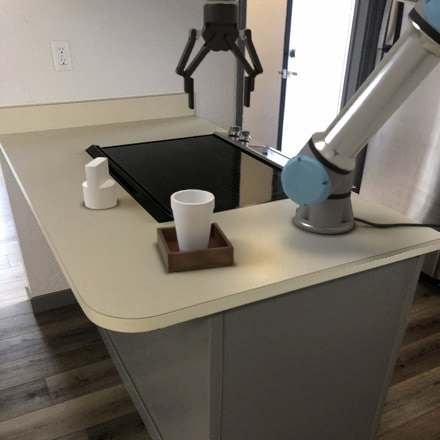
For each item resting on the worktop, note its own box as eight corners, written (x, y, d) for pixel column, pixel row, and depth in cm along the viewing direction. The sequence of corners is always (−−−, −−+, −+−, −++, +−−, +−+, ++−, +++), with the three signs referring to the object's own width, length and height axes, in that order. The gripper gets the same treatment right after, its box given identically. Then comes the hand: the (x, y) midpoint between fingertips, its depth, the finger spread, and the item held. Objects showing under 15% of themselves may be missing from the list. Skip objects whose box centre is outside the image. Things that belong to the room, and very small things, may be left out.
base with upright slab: (110, 210, 135) (105, 167, 129) (79, 207, 136) (73, 165, 130) (121, 199, 143) (117, 158, 137) (92, 197, 144) (87, 156, 138)
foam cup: (192, 239, 118) (191, 186, 111) (222, 250, 113) (223, 196, 106) (164, 252, 111) (161, 197, 105) (194, 264, 106) (193, 207, 100)
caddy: (216, 238, 120) (216, 222, 118) (233, 264, 108) (233, 247, 106) (157, 244, 117) (156, 227, 114) (168, 272, 105) (167, 254, 102)
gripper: (269, 3, 110) (263, 103, 121) (160, 1, 104) (164, 106, 115) (281, 4, 104) (274, 108, 115) (166, 1, 98) (170, 112, 109)
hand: (219, 107), depth 115 cm, fingers open, 13 cm apart
